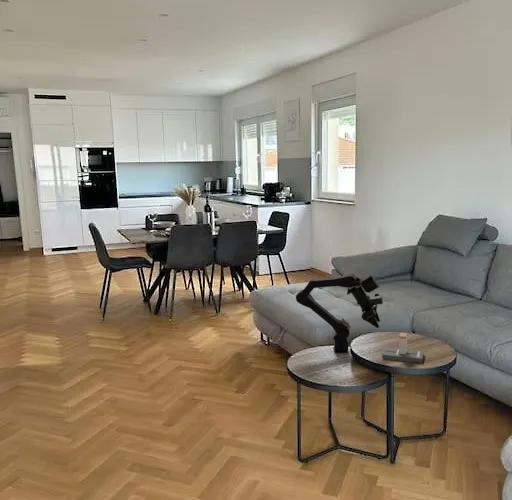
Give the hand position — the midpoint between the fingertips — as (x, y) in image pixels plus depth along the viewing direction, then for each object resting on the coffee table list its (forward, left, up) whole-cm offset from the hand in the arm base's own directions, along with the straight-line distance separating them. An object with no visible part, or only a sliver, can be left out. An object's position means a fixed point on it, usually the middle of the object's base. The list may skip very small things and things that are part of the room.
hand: (378, 324), depth 239 cm
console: (+10, -6, -14) cm, 19 cm away
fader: (+10, -6, -12) cm, 17 cm away
